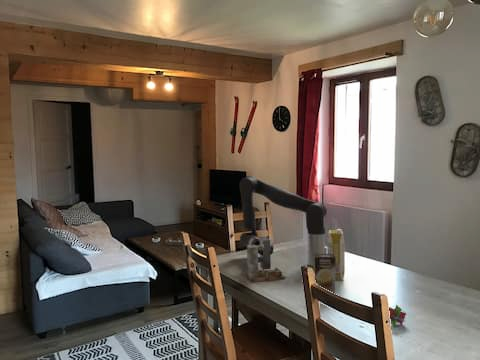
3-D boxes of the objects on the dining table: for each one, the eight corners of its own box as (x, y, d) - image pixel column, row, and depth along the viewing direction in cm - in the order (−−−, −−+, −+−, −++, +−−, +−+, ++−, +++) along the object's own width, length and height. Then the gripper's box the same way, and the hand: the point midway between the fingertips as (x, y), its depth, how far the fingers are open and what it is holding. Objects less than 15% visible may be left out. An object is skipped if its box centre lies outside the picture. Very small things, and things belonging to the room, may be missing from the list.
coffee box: (314, 293, 175) (314, 257, 173) (313, 288, 181) (312, 253, 180) (335, 293, 174) (335, 257, 172) (333, 288, 180) (333, 253, 179)
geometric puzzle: (405, 314, 146) (392, 297, 146) (414, 322, 139) (401, 304, 139) (390, 326, 146) (377, 309, 146) (398, 334, 139) (384, 317, 139)
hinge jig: (276, 271, 207) (275, 240, 206) (284, 278, 195) (284, 246, 193) (244, 274, 203) (244, 243, 202) (251, 282, 191) (251, 249, 189)
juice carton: (344, 281, 189) (344, 231, 187) (327, 281, 190) (327, 231, 188) (343, 275, 198) (343, 227, 196) (327, 274, 199) (327, 227, 197)
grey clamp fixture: (267, 266, 210) (267, 237, 208) (270, 268, 205) (270, 240, 204) (253, 267, 208) (252, 239, 206) (255, 270, 203) (255, 241, 202)
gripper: (244, 239, 218) (253, 246, 201) (269, 237, 221) (280, 244, 205) (244, 252, 218) (253, 261, 202) (269, 250, 222) (280, 259, 205)
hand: (266, 253), depth 203 cm, fingers closed on grey clamp fixture, 4 cm apart
